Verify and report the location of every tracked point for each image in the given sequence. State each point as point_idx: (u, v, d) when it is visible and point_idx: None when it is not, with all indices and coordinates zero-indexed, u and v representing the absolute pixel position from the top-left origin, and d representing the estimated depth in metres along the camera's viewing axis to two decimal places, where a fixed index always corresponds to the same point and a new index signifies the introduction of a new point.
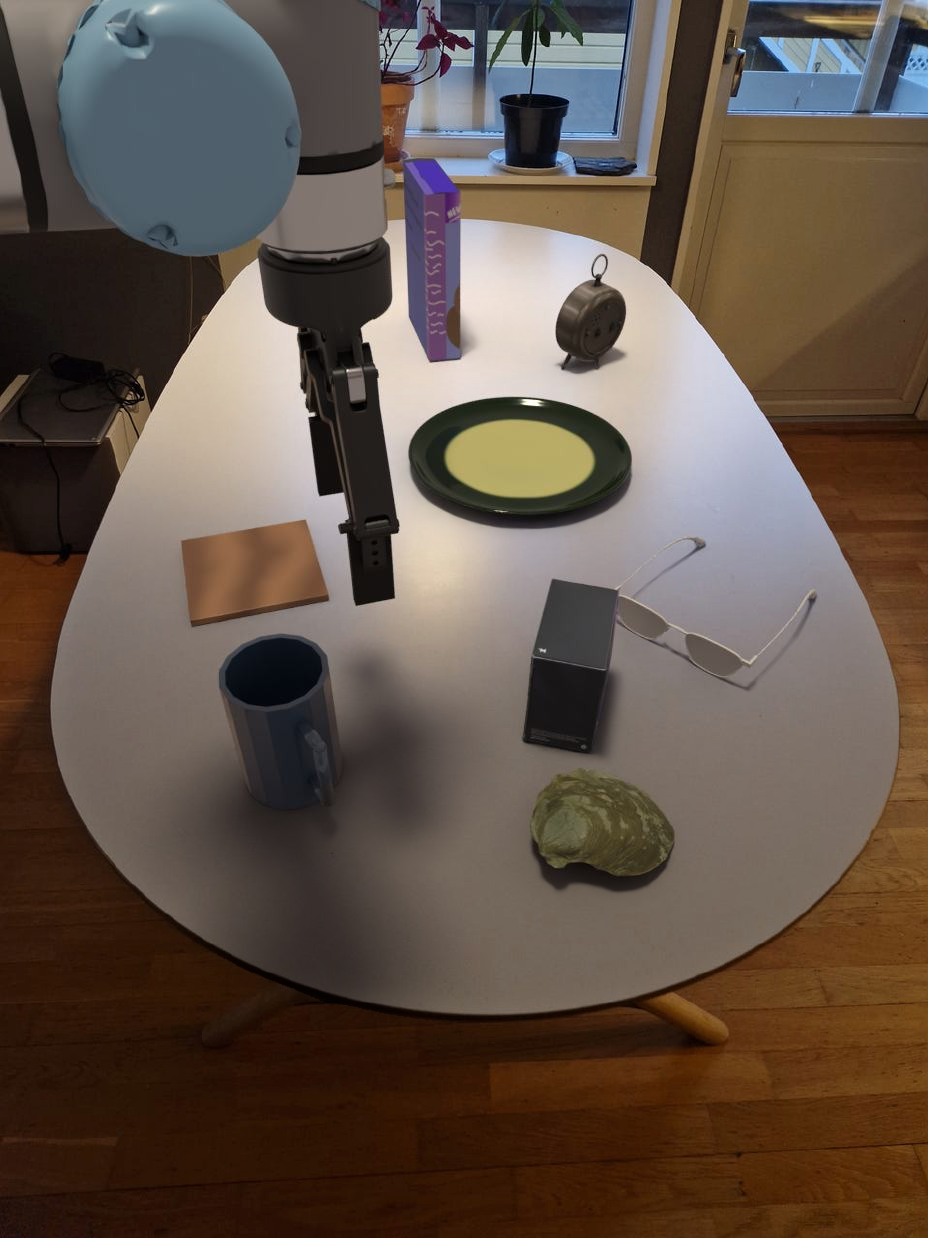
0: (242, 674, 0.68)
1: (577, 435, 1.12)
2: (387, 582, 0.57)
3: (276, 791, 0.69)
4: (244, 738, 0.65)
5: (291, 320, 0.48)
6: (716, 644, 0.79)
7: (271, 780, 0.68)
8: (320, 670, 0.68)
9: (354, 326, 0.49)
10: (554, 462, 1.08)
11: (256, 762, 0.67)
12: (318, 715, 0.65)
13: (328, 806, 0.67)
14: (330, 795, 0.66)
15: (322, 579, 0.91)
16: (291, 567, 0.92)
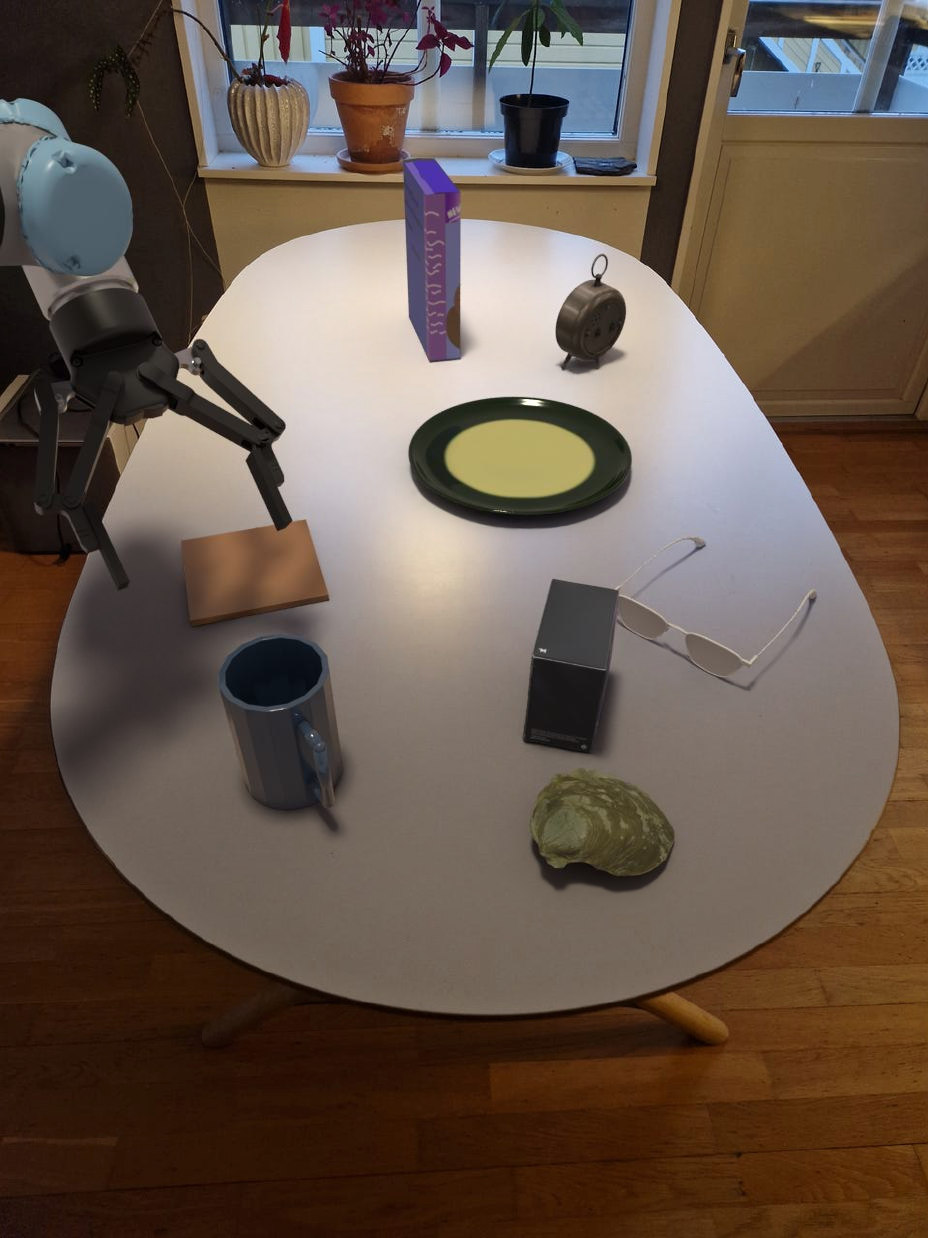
0: (242, 674, 0.68)
1: (577, 435, 1.12)
2: None
3: (276, 791, 0.69)
4: (244, 738, 0.65)
5: (148, 324, 0.67)
6: (716, 644, 0.79)
7: (271, 780, 0.68)
8: (320, 670, 0.68)
9: None
10: (554, 462, 1.08)
11: (256, 762, 0.67)
12: (318, 715, 0.65)
13: (328, 806, 0.67)
14: (330, 795, 0.66)
15: (322, 579, 0.91)
16: (291, 567, 0.92)
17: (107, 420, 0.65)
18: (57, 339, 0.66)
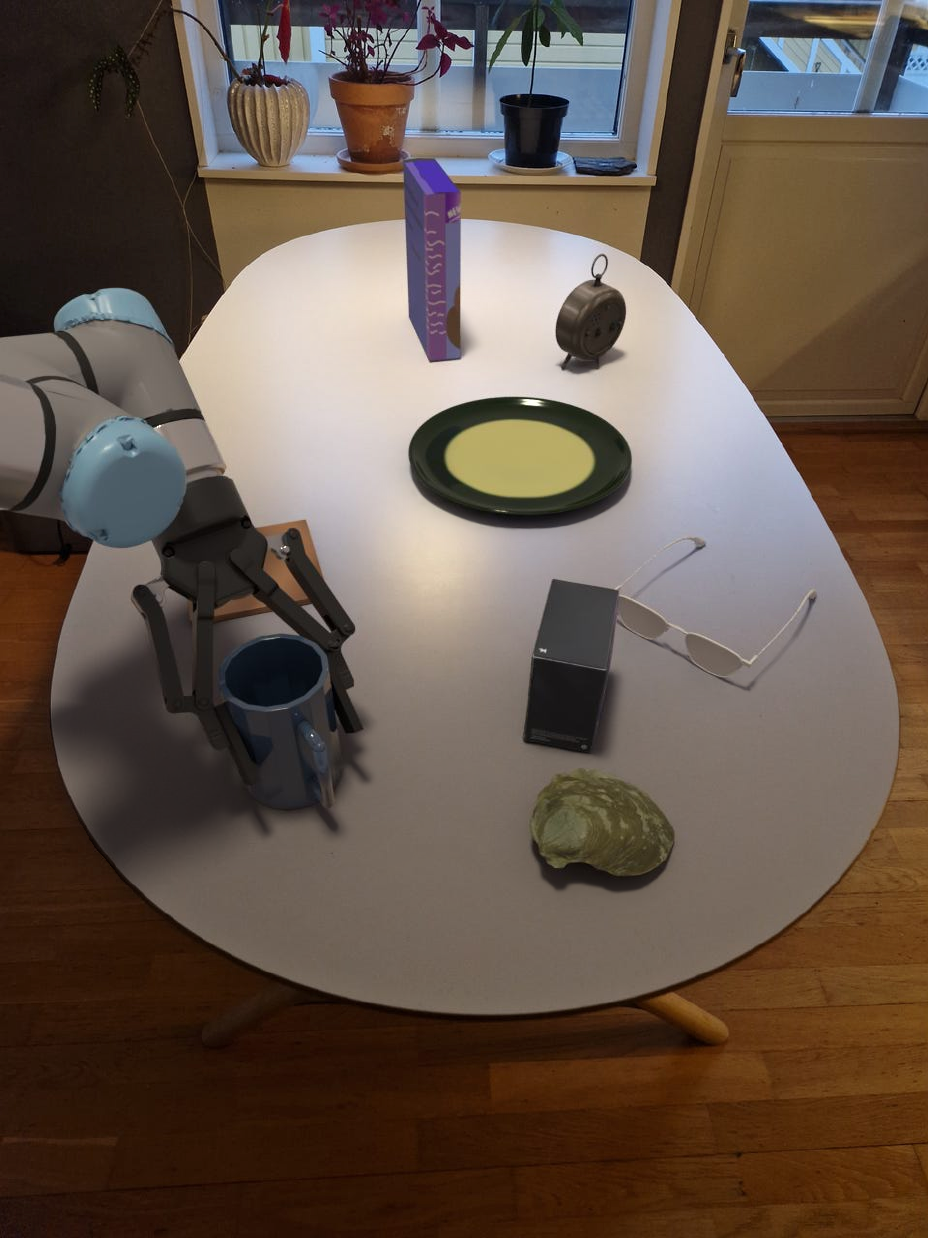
0: (242, 674, 0.68)
1: (577, 435, 1.12)
2: None
3: (276, 791, 0.69)
4: (244, 738, 0.65)
5: (239, 511, 0.66)
6: (716, 644, 0.79)
7: (271, 780, 0.68)
8: (320, 670, 0.68)
9: None
10: (554, 462, 1.08)
11: (256, 762, 0.67)
12: (318, 715, 0.65)
13: (328, 806, 0.67)
14: (329, 795, 0.66)
15: None
16: None
17: (213, 612, 0.65)
18: None
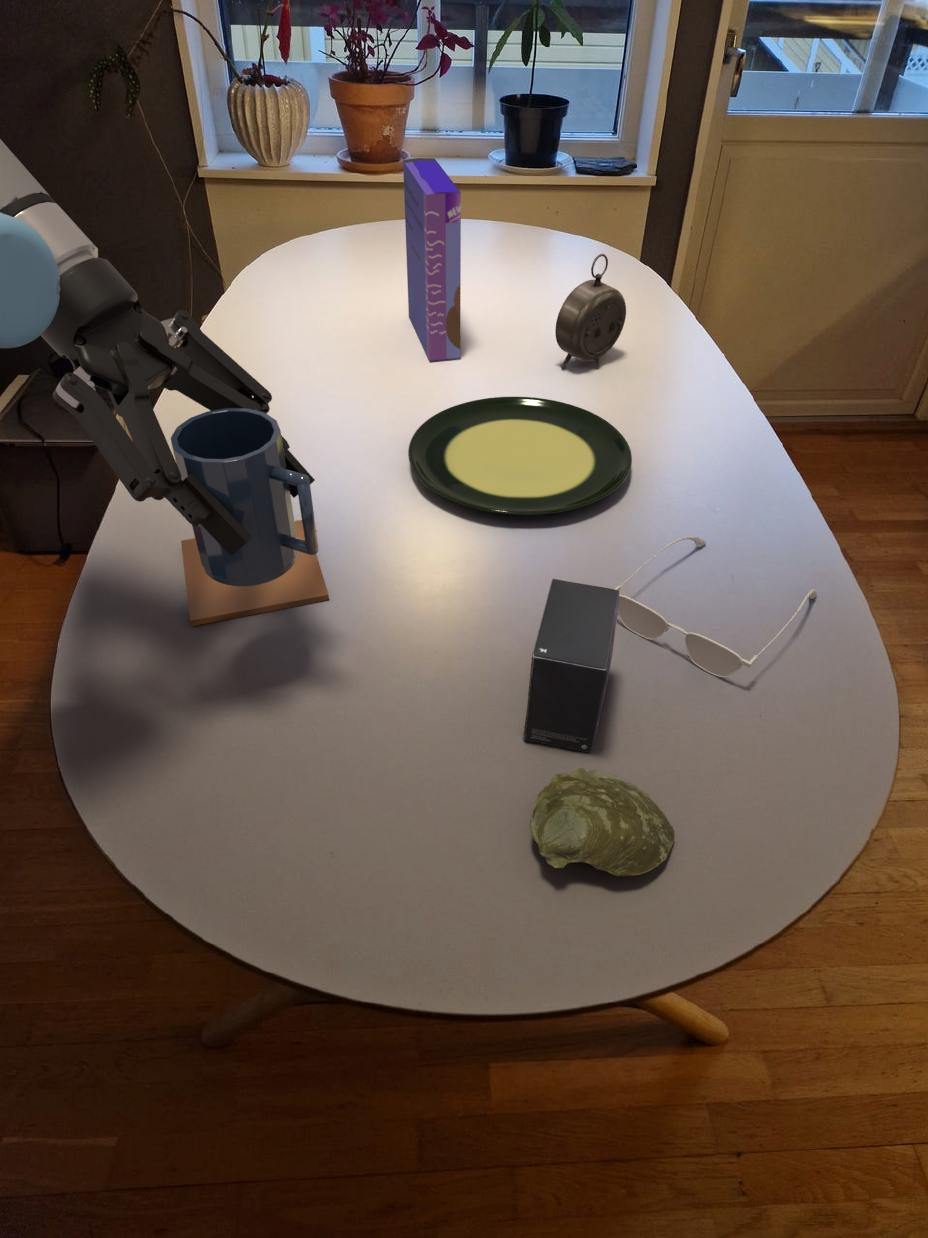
0: None
1: (577, 435, 1.12)
2: None
3: (256, 561, 0.70)
4: None
5: (134, 290, 0.65)
6: (716, 644, 0.79)
7: (251, 548, 0.69)
8: (259, 434, 0.70)
9: None
10: (554, 462, 1.08)
11: None
12: (282, 463, 0.68)
13: (315, 551, 0.70)
14: (315, 537, 0.70)
15: (322, 579, 0.91)
16: (291, 567, 0.92)
17: (147, 390, 0.64)
18: None
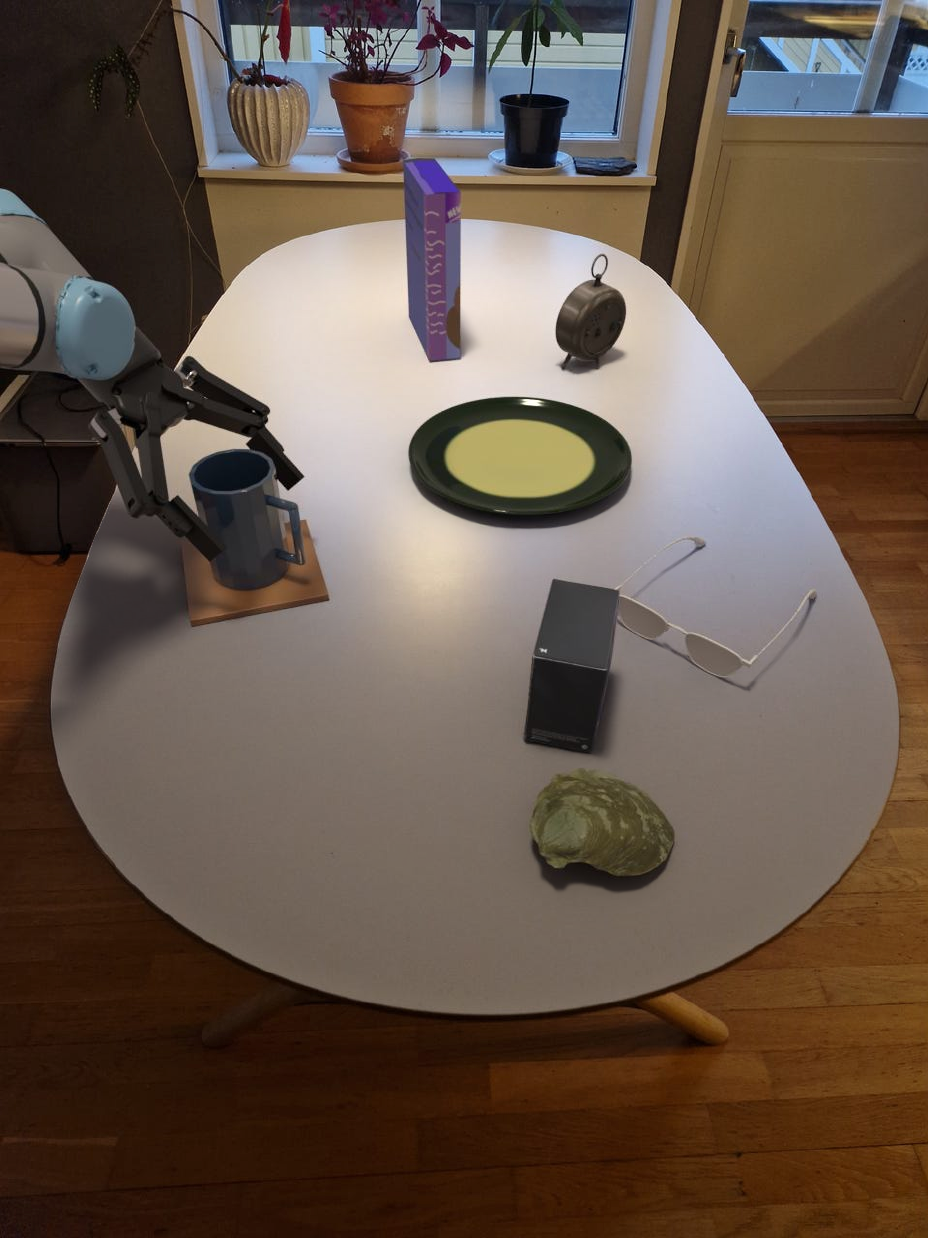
0: None
1: (577, 435, 1.12)
2: None
3: (256, 570, 0.88)
4: (228, 526, 0.84)
5: (158, 350, 0.82)
6: (716, 644, 0.79)
7: (252, 560, 0.87)
8: (258, 469, 0.88)
9: None
10: (554, 462, 1.08)
11: (239, 546, 0.86)
12: (276, 493, 0.86)
13: (303, 562, 0.88)
14: (303, 551, 0.87)
15: (322, 579, 0.91)
16: (291, 567, 0.92)
17: (160, 430, 0.81)
18: None
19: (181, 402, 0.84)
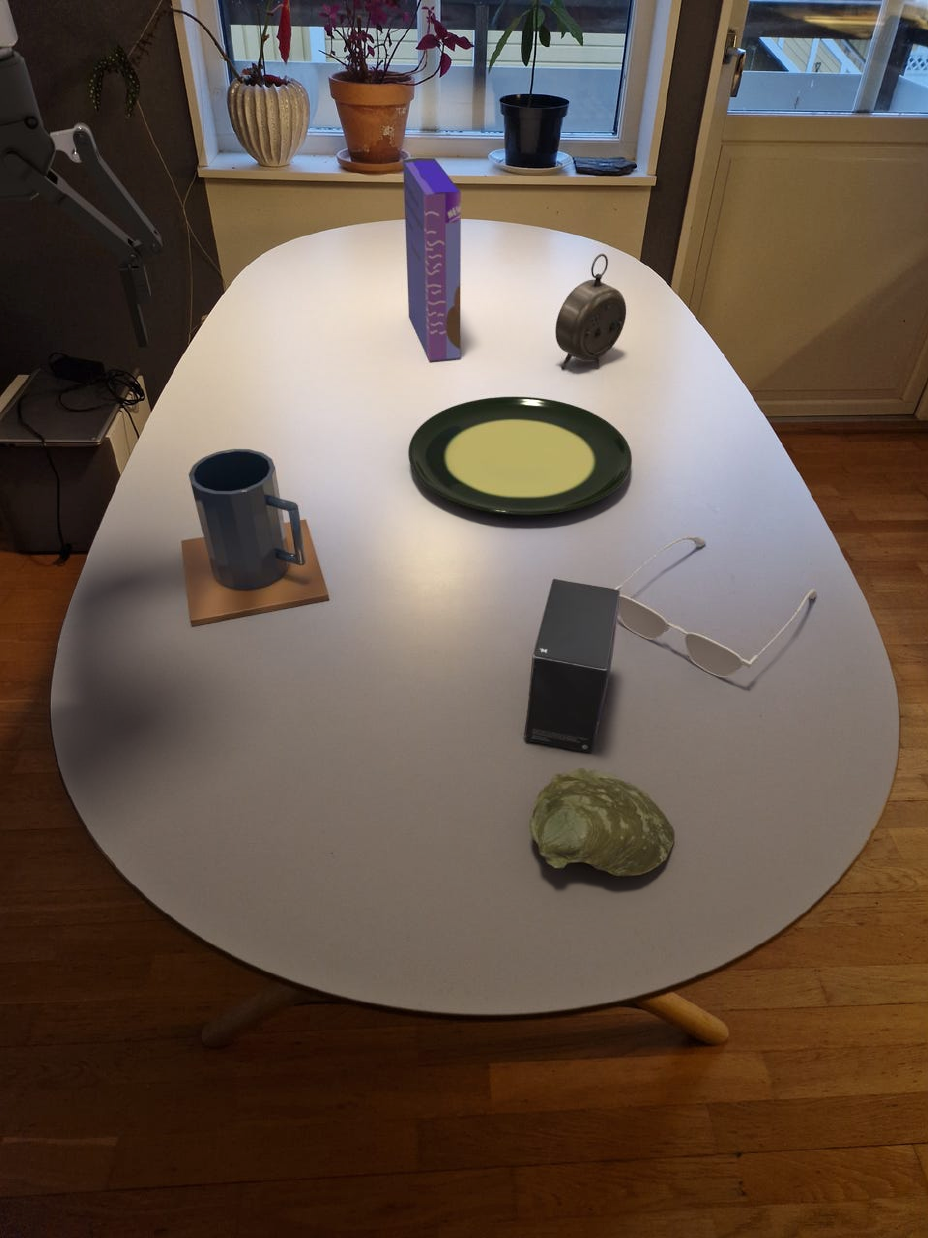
0: None
1: (577, 435, 1.12)
2: (142, 318, 0.74)
3: (256, 570, 0.88)
4: (228, 526, 0.84)
5: (17, 114, 0.59)
6: (716, 644, 0.79)
7: (252, 560, 0.87)
8: (258, 469, 0.88)
9: None
10: (554, 462, 1.08)
11: (239, 546, 0.86)
12: (276, 493, 0.86)
13: (303, 562, 0.88)
14: (303, 551, 0.87)
15: (322, 579, 0.91)
16: (291, 567, 0.92)
17: None
18: None
19: (27, 184, 0.63)
